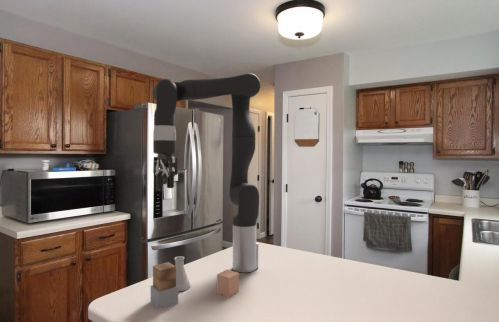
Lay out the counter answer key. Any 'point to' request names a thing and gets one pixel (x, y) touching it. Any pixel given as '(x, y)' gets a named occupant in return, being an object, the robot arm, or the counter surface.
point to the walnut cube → (164, 276)
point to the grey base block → (164, 297)
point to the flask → (181, 275)
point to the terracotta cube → (227, 283)
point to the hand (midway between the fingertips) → (164, 187)
